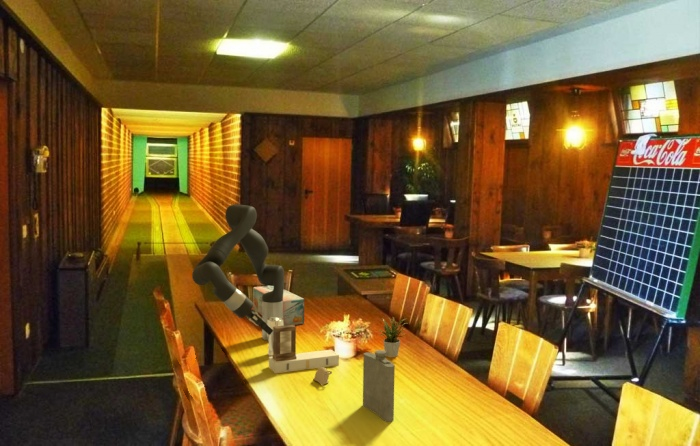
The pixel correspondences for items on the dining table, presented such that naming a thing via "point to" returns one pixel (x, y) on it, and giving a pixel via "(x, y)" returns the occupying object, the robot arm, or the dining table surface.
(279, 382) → the dining table surface
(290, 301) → the soda box
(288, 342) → the picture frame
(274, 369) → the picture ledge
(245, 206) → the robot arm
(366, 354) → the hip flask
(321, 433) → the dining table surface
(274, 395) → the dining table surface
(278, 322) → the beer glass
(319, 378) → the decorative ornament
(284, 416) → the dining table surface
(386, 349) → the house plant
